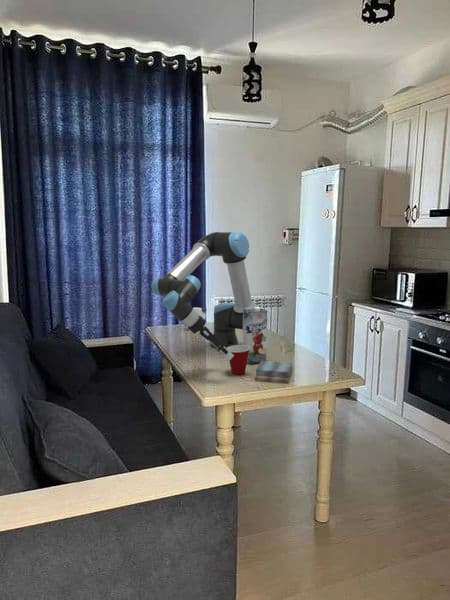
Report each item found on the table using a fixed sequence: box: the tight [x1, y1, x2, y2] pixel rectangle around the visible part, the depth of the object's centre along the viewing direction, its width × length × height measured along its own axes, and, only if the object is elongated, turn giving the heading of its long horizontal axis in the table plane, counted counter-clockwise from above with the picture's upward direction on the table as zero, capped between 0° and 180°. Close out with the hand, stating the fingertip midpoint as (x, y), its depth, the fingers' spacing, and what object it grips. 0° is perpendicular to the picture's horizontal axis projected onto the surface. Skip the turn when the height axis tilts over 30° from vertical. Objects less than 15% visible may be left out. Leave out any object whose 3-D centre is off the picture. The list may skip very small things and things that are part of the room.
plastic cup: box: [227, 344, 250, 376], centre depth 203 cm, size 11×11×12 cm
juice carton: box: [242, 306, 268, 365], centre depth 221 cm, size 9×10×27 cm
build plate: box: [254, 360, 293, 385], centre depth 202 cm, size 14×20×4 cm
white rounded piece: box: [192, 307, 207, 321], centre depth 286 cm, size 12×11×15 cm
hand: (227, 353), depth 201 cm, fingers open, 13 cm apart
